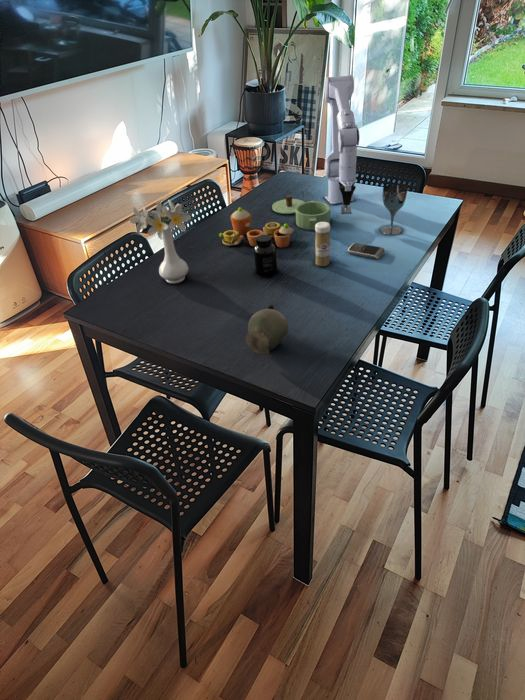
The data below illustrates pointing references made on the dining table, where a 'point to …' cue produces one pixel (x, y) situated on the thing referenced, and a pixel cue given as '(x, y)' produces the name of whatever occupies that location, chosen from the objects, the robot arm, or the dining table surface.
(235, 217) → the toy tea set
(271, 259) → the supplement bottle
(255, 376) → the dining table surface
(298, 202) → the pot lid
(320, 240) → the sprinkles bottle
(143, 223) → the flower vase
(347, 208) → the masher
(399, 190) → the wine glass
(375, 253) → the cell phone
